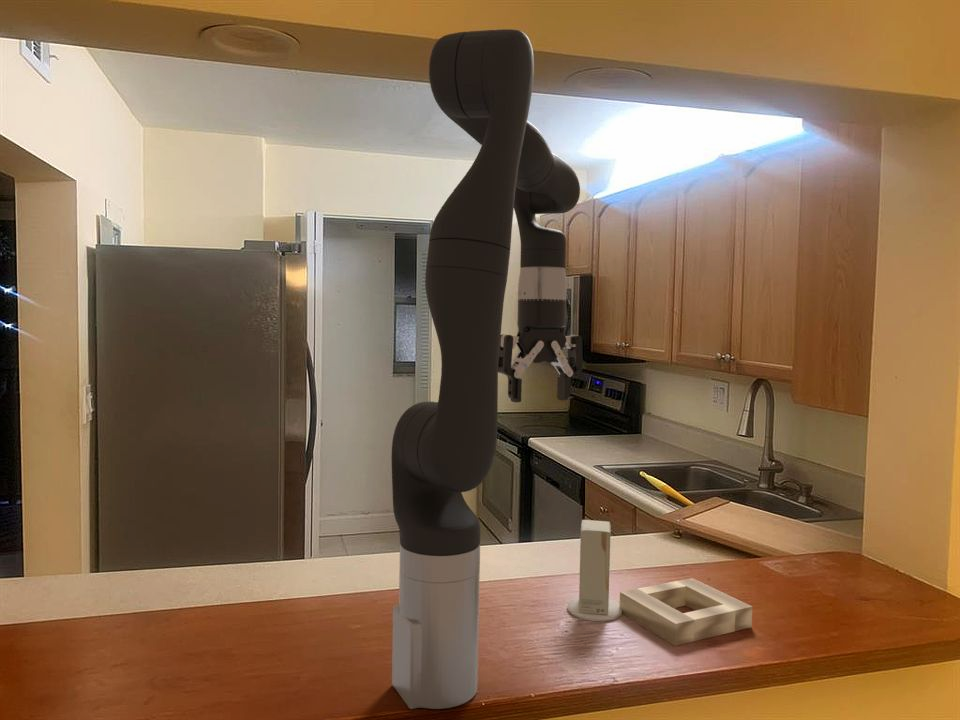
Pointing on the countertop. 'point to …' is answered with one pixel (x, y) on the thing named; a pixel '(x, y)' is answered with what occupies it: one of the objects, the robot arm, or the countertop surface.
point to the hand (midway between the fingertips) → (539, 401)
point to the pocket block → (707, 620)
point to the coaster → (612, 614)
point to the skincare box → (594, 567)
